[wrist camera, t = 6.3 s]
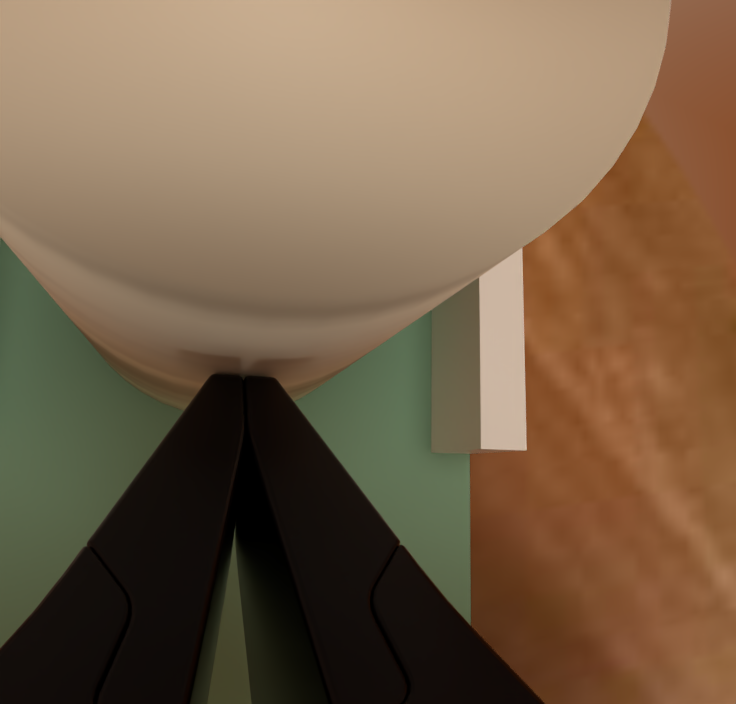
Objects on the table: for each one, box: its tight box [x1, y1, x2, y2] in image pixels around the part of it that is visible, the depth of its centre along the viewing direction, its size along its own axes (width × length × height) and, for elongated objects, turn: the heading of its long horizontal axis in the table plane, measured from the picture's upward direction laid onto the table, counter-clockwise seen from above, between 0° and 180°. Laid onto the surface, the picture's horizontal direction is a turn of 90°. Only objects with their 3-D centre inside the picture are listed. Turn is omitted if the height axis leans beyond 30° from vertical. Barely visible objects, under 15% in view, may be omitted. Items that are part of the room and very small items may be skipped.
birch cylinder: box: [0, 0, 671, 411], centre depth 11 cm, size 7×7×11 cm
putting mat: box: [0, 238, 471, 704], centre depth 16 cm, size 22×12×1 cm, turn 179°
